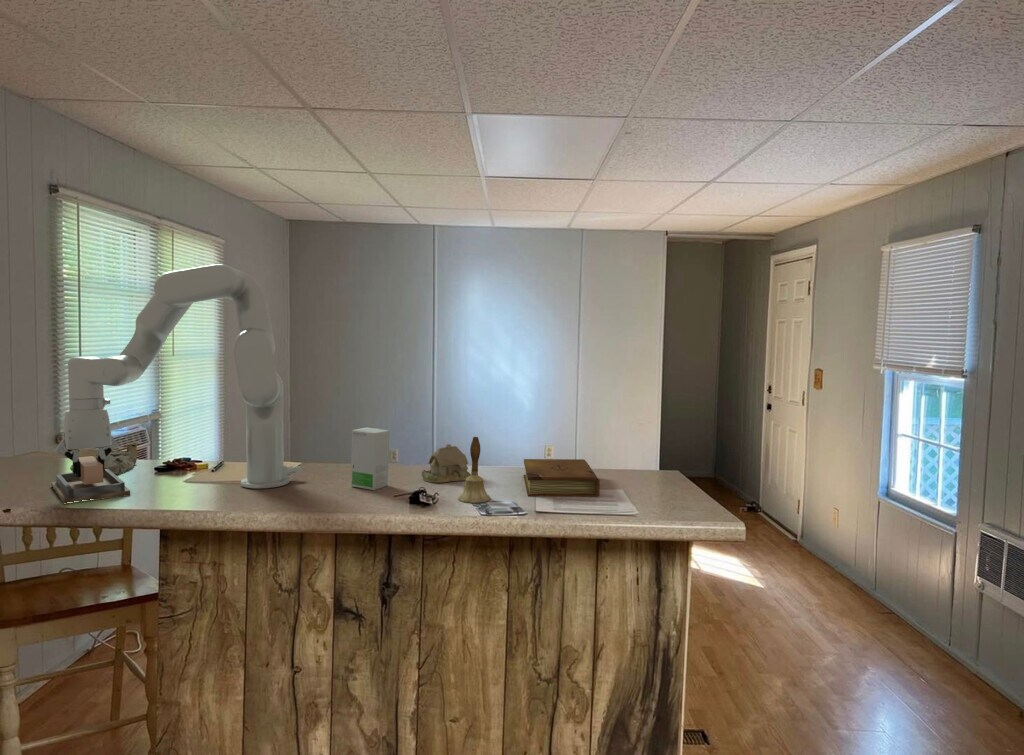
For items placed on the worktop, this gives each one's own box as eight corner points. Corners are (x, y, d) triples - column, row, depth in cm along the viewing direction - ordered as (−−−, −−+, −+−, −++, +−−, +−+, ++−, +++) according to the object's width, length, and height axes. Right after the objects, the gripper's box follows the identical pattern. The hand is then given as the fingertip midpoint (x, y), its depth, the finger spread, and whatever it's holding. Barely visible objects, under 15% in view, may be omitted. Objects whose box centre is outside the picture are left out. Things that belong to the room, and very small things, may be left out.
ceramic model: (456, 472, 200) (456, 439, 199) (478, 479, 191) (479, 444, 190) (416, 478, 190) (416, 444, 190) (438, 486, 182) (438, 450, 181)
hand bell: (471, 493, 175) (472, 433, 173) (496, 498, 170) (497, 436, 169) (451, 499, 168) (451, 437, 167) (476, 505, 163) (477, 441, 162)
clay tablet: (105, 463, 207) (62, 476, 187) (105, 447, 207) (62, 459, 187) (150, 464, 207) (112, 478, 187) (150, 449, 207) (112, 461, 187)
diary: (599, 499, 173) (599, 477, 172) (527, 498, 172) (528, 477, 172) (586, 477, 196) (587, 458, 195) (523, 477, 195) (523, 458, 195)
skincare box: (350, 486, 180) (349, 430, 178) (365, 481, 185) (365, 426, 184) (375, 490, 176) (374, 432, 175) (390, 485, 182) (390, 429, 181)
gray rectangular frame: (112, 479, 185) (111, 467, 184) (130, 495, 168) (129, 482, 168) (51, 486, 175) (51, 474, 175) (64, 504, 159) (63, 491, 159)
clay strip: (93, 472, 178) (92, 455, 178) (103, 482, 168) (102, 464, 167) (75, 474, 175) (74, 457, 175) (84, 484, 165) (84, 466, 165)
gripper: (120, 401, 178) (122, 468, 180) (45, 405, 167) (47, 476, 169) (127, 404, 173) (128, 473, 174) (49, 408, 162) (51, 482, 163)
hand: (88, 474), depth 171 cm, fingers closed on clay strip, 4 cm apart
